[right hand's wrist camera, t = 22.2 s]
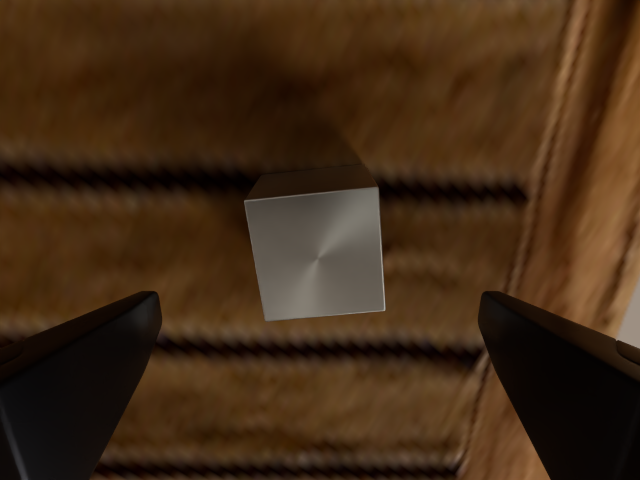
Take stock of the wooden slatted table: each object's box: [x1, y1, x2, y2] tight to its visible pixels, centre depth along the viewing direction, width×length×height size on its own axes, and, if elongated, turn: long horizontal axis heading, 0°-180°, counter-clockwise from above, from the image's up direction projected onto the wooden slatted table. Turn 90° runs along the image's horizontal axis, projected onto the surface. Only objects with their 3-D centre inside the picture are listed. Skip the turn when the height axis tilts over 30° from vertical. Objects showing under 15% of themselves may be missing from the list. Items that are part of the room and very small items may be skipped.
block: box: [244, 164, 385, 322], centre depth 17 cm, size 5×5×4 cm
